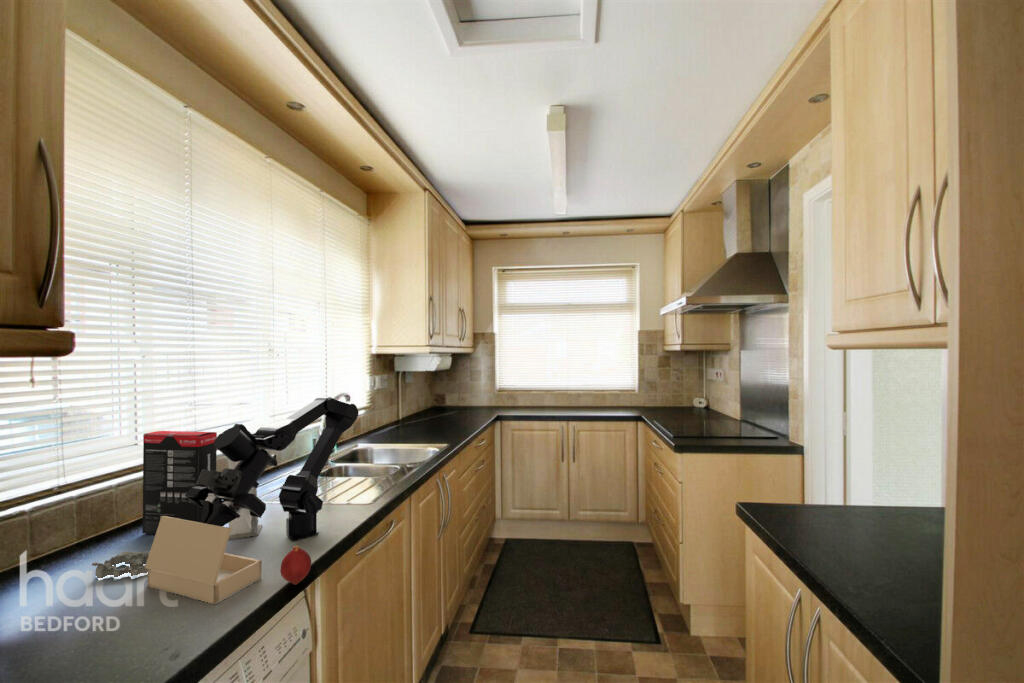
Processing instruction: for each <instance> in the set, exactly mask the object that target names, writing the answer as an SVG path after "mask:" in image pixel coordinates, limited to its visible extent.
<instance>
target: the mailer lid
mask: <svg viewBox="0 0 1024 683" xmlns="http://www.w3.org/2000/svg"><path fill="white" fill-rule="evenodd" d="M230 532H231V528H229V526H228V527H227V526H217V525H211V524H206V523H200V522H194V521H189V520H183V519H178V518H172V517H167V516H162V517H161V520H160V523H159V526H158V529H157V532H156V534H154V539H153V541H152V544H151V548H150V551H149V552H150V553H149V556H148V559H147V562H146V565H145V568H147V569H151V570H156V571H160V572H164V573H168V574H172V575H176V576H180V577H184V578H188V579H192V580H196V581H200V582H204V583H208V584H213V585H214V584H216V582H217V578H218V575H219V571H220V567H221V564H222V560H223V557H224V553H226V549H227V546H228V543H229V540H228V539H229V535H230Z"/></svg>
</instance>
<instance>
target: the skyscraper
mask: <svg viewBox="0 0 1024 683" xmlns="http://www.w3.org/2000/svg"><path fill="white" fill-rule="evenodd" d="M250 433H251V434H252V433H253V432H250ZM227 459H228V460H227V464H228V469H234V468H235V467H236V465H237V464H238V463H239V462H240V461H238V462H233V461H231V460H230V459H229V458H228V457H227ZM249 494H254V495H255V496H257V497H258V487H257V488H252V489H251V490H250V491H249ZM239 515H240V517H239V518H236V519H234V520H232V521H231V522H229V523H228V528H231V532H230V535H229V539H228V541H231V539H232V540H239V539H244V537H246V538H251V537H250V536H253V537H258V536H259V534H260V533H259V532H261V530H262V528H263V524H259V518H258V517H252V516H251V515H250V510H249V509H244V508H243V509H242V510H241V511H240V513H239ZM257 535H258V536H257ZM238 538H239V539H238Z"/></svg>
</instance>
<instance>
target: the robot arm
mask: <svg viewBox="0 0 1024 683" xmlns="http://www.w3.org/2000/svg"><path fill="white" fill-rule="evenodd" d="M323 416H324V417H325V418H324V420H325V426H324V429H323V430H322V433H321V434H320V436H319V438H318V439H317V441H316V443H315V445H314V446H313V448H312V450H311V452H310V453H309V455H308V457H307V458H306V461H305V463H304V464H303V465H302V468H301V469H300V471H299V472H297V473H296V474H288V475H287V477H286V479H285V481H284V483H283V484H282V485H281V486H280V488H279V489H280V492H279V493H278V494H279V495H278V499H279V504H280V505H281V507H282V510H283V512H284V513H286V512H287V513H288V517H287V518H286V520H285V521H286V523H285V524H286V526H285V527H286V529H285V530H286V531H285V532H286V535H287V536H288V537H289V538H290V540H291V541H297V540H301V539H304V537H305V538H308V537H307V536H309V537H312V536H311V535H313V536H316V535H315V534H317V535H319V534H318V533H319V531H318V530H317V522H318V521H317V520H318V519H317V517H318V515H317V514H318V513H319V511H321V510H322V508H323V505H324V501H323V500H322V499H321V498H320V497H319V496H318V495H317V493H318V491H319V483H318V482H319V480H318V479H319V477H320V475H321V473H322V471H323V469H324V467H325V466H326V464H327V462H328V460H329V458H330V456H331V455H332V452H333V451H334V449H335V446H336V445H337V443H338V442H339V439H340V438H341V435H342V434H344V433H345V432H346V431H347V430H349V429H351V427H352V426H353V425H354V424H355V422H356V421H357V420H358V416H359V409H358V407H357V405H356V404H355V403H349V402H344V401H341V400H337V399H335V398H333V397H331V396H318V397H316V398H315V399H314V400H313V401H311V402H310V403H308V404H307V405H305V406H304V407H302V408H300V409H299V410H298V411H296V412H293V414H291V415H289V416H288V417H286V418H284V419H281V420H277V421H274V422H271V423H268V424H266V425H263V426H260V428H258V429H257V430H256V431H255V432H250V431H249V430H248V428H247V427H246V426H245V425H244V424H243V423H235V424H233V426H232V427H230V428H227V429H225V430H224V431H223V432H221V433H220V434H217V438H216V439H215V441H214V446H215V447H216V448H217V451H219V452H220V453H222V454H223V455H224V456H225V457H227V459H228V458H229V459H230V460H231V461H233V462H238V461H240V462H239V463H238V464H237V465H236V467H235V468H234V469H229V468H223V470H221V471H217V470H216V471H211V470H202V471H201V474H200V476H199V478H198V480H197V483H196V485H205V486H211V488H210V489H211V490H212V491H214V492H216V494H215V493H214V492H212V491H211V490H210V489H208V488H207V487H199V486H195V487H192V488H190V489H189V491H188V492H187V493H186V494H185V497H187V498H188V499H190V500H191V501H193V502H194V503H195V504H197V505H198V506H200V507H202V508H204V513H203V516H202V520H201V522H200V523H206V524H211V525H217V526H222V527H225V526H226V525H227V524H229V522H231V521H232V520H234V519H236V518H239V517H240V515H239V513H240V511H241V510H242V509H243V508H244V509H249V510H250V515H251V516H252V517H258V519H259V518H260V519H261V518H262V516H263V515H264V514H265V512H266V510H267V504H266V502H264V501H263V500H262V499H260V498H259V497H258V495H257V496H255V495H254V494H249V491H250V490H251V489H252V488H257V489H258V487H259V485H260V483H258V480H259V479H260V477H261V476H262V474H263V473H264V472H265V470H266V468H267V467H268V466H270V467H278V460H277V454H270V453H269V452H268V451H277V452H279V451H280V452H281V451H283V450H285V449H286V448H288V446H289V445H290V444H292V443H293V442H294V441H295V440H296V437H297V435H298V433H300V432H301V431H302V430H303V429H305V428H306V427H308V426H309V425H311V424H312V423H314V422H315V421H317V420H318V419H319V418H321V417H323ZM251 433H252V434H251Z"/></svg>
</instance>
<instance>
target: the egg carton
mask: <svg viewBox="0 0 1024 683" xmlns="http://www.w3.org/2000/svg"><path fill="white" fill-rule="evenodd" d="M149 553H150V551H148V550H144V551H138V552H137V551H136V552H134V551H123V552H121V553H118V554H116V555H115V556H111V558H110V559H109V560H107V559H106V560H105V561H104V563H101V562H92V564H91V566H92V567H93V566H94V567H96V568H95V572H94V573H95V576H97V578H103V577H105V576H107V575H114V577H118V576H120V575H122V574H124V573H128V572H129V573H131V576H133V575H138V574H140V573H147V572H148V569H147V568H145V566H143V564H146V562H147V559H148V556H149ZM122 562H125V564H130V567H129V566H126V568H125V567H123V568H120V569H118V568H116V564H119V563H122ZM112 565H114V566H112ZM95 576H94V577H95Z"/></svg>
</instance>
